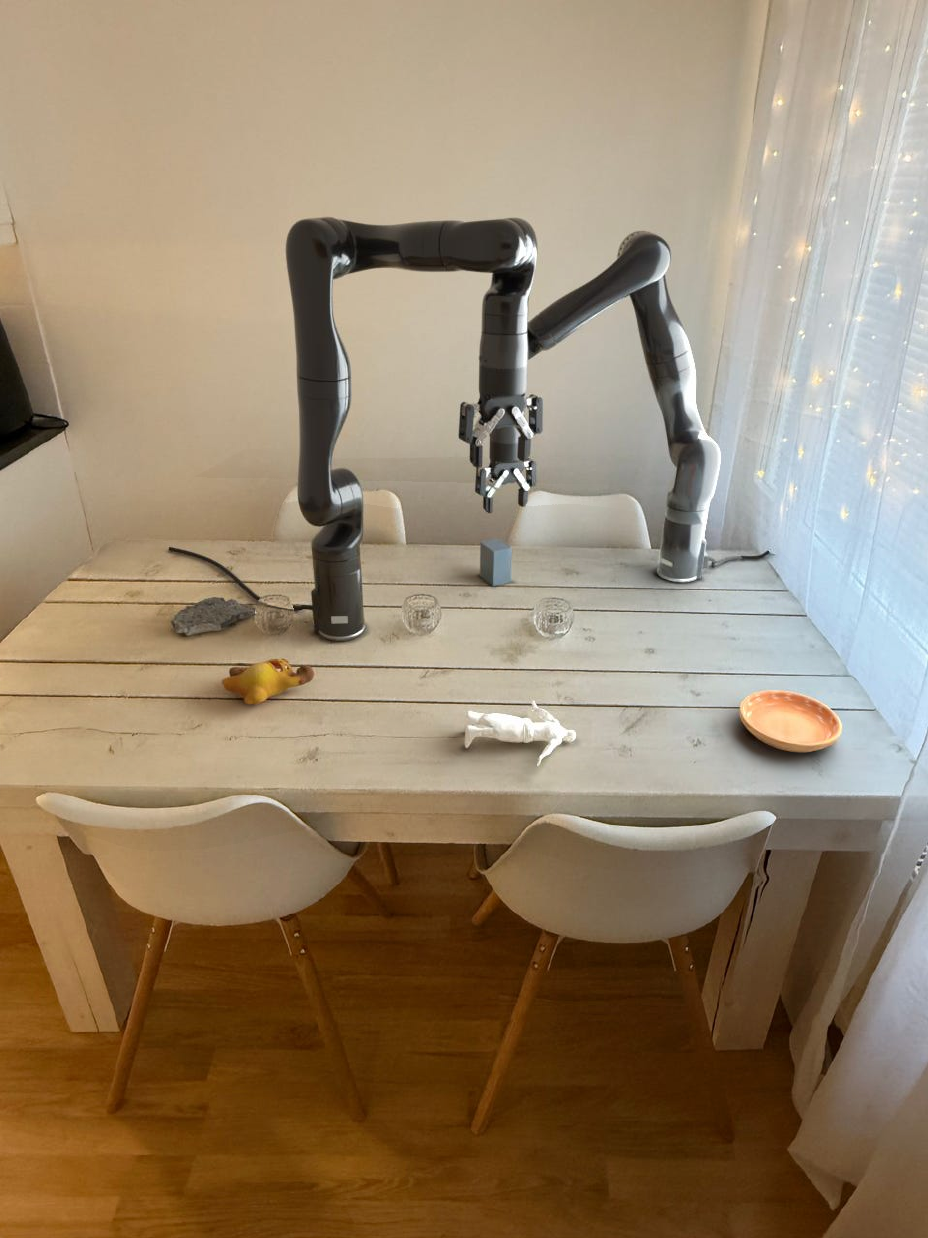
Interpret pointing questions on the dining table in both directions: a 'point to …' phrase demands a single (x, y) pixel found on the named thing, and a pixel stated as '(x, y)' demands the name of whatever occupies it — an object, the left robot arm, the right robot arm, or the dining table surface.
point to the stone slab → (210, 615)
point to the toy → (265, 679)
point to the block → (495, 561)
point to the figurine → (517, 729)
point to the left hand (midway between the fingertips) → (500, 463)
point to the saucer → (790, 721)
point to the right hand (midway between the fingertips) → (505, 508)
